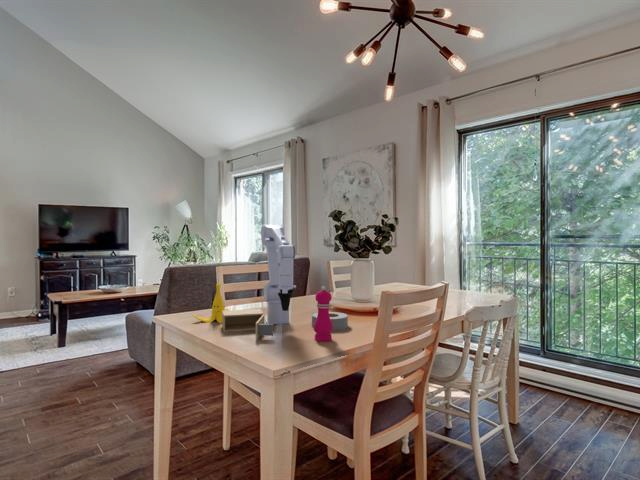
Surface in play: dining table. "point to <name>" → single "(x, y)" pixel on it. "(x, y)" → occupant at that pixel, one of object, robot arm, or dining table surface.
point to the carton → (240, 319)
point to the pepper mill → (323, 316)
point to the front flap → (263, 328)
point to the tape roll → (335, 320)
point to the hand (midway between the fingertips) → (285, 308)
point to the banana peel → (215, 308)
